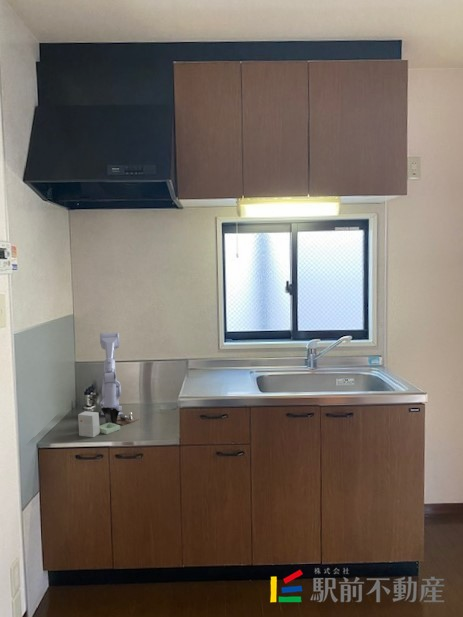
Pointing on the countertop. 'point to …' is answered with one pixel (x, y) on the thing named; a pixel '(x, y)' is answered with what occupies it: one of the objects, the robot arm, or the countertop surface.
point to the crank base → (125, 421)
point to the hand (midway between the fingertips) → (111, 422)
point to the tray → (109, 428)
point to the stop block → (109, 418)
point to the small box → (88, 424)
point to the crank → (127, 416)
